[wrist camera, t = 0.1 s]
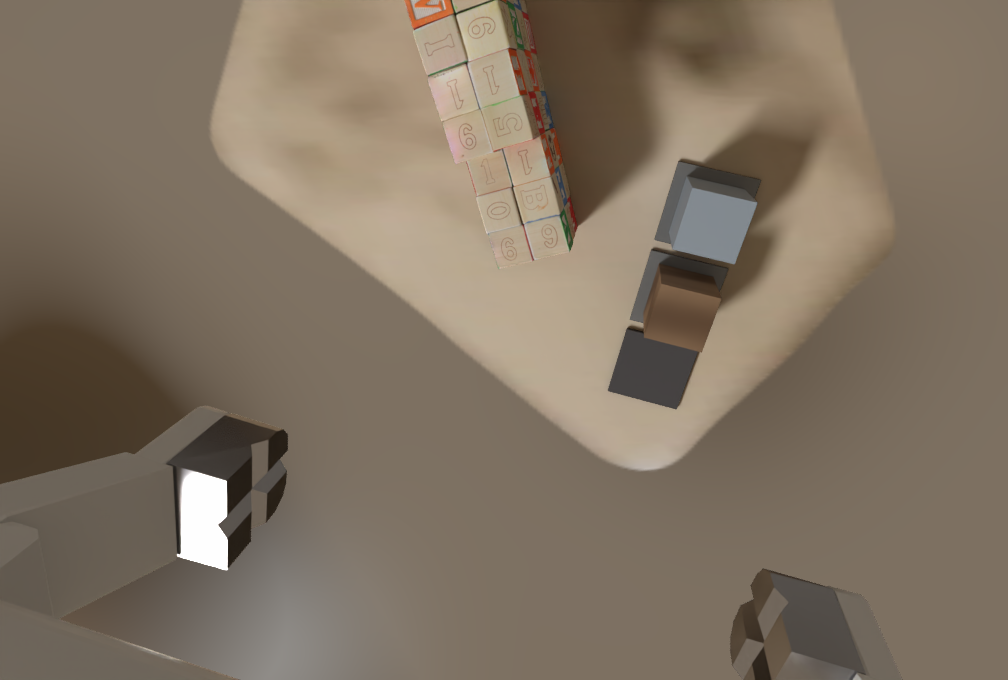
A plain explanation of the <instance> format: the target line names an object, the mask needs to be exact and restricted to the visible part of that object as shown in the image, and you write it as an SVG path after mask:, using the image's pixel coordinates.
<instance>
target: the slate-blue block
mask: <svg viewBox="0 0 1008 680" xmlns="http://www.w3.org/2000/svg"><path fill="white" fill-rule="evenodd" d="M756 206H757V202H756V201H755V199H754V198H753V197H752V196H751V195H750V194H749V193H748V192H747V191H746V190H745V189H741V188H737V187H732V186H728V185H723V184H719V183H715V182H710V181H706V180H702V179H697V178H693V177H688V176H687V177H686V180H685V183H684V186H683V189H682V192H681V196H680V199H679V202H678V205H677V208H676V211H675V215H674V218H673V221H672V224H671V227H670V230H669V235H670V240H671V245H672V249H673V250H677V251H681V252H685V253H690V254H694V255H698V256H702V257H706V258H710V259H714V260H719V261H723V262H727V263H731V264H735V262H736V259H737V257H738V254H739V251H740V249H741V246H742V243H743V241H744V238H745V235H746V233H747V230H748V227H749V225H750V222H751V219H752V217H753V214H754V211H755V209H756Z"/></svg>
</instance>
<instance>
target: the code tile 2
mask: <svg viewBox="0 0 1008 680" xmlns="http://www.w3.org/2000/svg"><path fill="white" fill-rule="evenodd" d="M687 176H688V177H693V178H697V179H702V180H706V181H710V182H715V183H719V184H723V185H728V186H732V187H737V188H741V189H745V190H746V191H747V192H748V193H749V194H750V195H751V196H752V197H753V198H755V196H756V193H757V190H758V188H759V185H760V182H761V180H759V179H755V178H750V177H746V176H742V175H737V174H733V173H728V172H724V171H720V170H715V169H711V168H706V167H702V166H697V165H693V164H689V163H684V162H680V161H678V165H677V168H676V171H675V174H674V178H673V181H672V184H671V187H670V191H669V194H668V197H667V200H666V204H665V207H664V210H663V213H662V217H661V220H660V223H659V226H658V229H657V233H656V236H655V240H657V241H661V242H665V243H669V244H671V240H670V235H669V230H670V227H671V224H672V221H673V218H674V215H675V211H676V208H677V205H678V202H679V199H680V196H681V192H682V189H683V186H684V183H685V180H686V177H687Z"/></svg>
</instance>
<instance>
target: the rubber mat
mask: <svg viewBox="0 0 1008 680" xmlns="http://www.w3.org/2000/svg"><path fill="white" fill-rule="evenodd" d="M697 353H698V351H694V350H691V349H687V348H683V347H679V346H675V345H671V344H667V343H663V342H659V341H656V340H652V339H648V338H644V332H641V331H638V330H634V329H630V328H627V330H626V333H625V337H624V340H623V343H622V346H621V350H620V353H619V356H618V359H617V362H616V366H615V369H614V372H613V375H612V379H611V382H610V385H609V388H608V391H610V392H614V393H617V394H621V395H625V396H628V397H632V398H636V399H640V400H643V401H647V402H651V403H655V404H658V405H662V406H666V407H670V408H673V409H677V407H678V404H679V401H680V399H681V396H682V393H683V391H684V388H685V385H686V383H687V380H688V377H689V374H690V372H691V369H692V366H693V364H694V361H695V358H696V356H697Z"/></svg>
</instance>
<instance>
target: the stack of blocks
mask: <svg viewBox="0 0 1008 680" xmlns="http://www.w3.org/2000/svg"><path fill="white" fill-rule="evenodd" d="M404 2H405V5H406V8H407V11H408V15H409V18H410V21H411V24H412V27H413V29H414V31H413V35H414V38H415V41H416V44H417V47H418V50H419V53H420V56H421V59H422V62H423V65H424V68H425V71H426V74H427V75H428V77H429V78H428V84H429V87H430V90H431V93H432V96H433V99H434V102H435V105H436V108H437V111H438V114H439V117H440V119H441V121H442V123H443V128H444V131H445V134H446V137H447V140H448V143H449V146H450V150H451V153H452V155H453V158H454V162H455V164H458V163H461V162H465V161H466V162H467V166H468V169H469V173H470V176H471V179H472V183H473V186H474V189H475V193H476V200H477V203H478V207H479V210H480V214H481V217H482V220H483V224H484V227H485V230H486V233H487V234H488V235H489V239H490V243H491V246H492V249H493V253H494V256H495V259H496V263H497V266H498V268H499V269H501V268H505V267H510V266H514V265H518V264H523V263H527V262H531V261H533V260H537V259H542V258H546V257H551V256H554V255H559V254H563V253H567V252H570V250H571V247H572V245H573V239H574V236H575V232H576V230H577V222H576V219H575V215H574V211H573V207H572V203H571V199H570V190H569V186H568V182H567V178H566V174H565V169H564V165H563V162H562V156H561V152H560V148H559V144H558V139H557V135H556V131H555V128H554V127H553V122H552V118H551V114H550V109H549V105H548V101H547V96H546V93H545V90H544V85H543V81H542V76H541V72H540V68H539V64H538V60H537V56H536V54H537V52H536V48H535V43H534V39H533V35H532V30H531V26H530V22H529V17H528V12H527V7H526V3H525V0H404Z"/></svg>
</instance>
